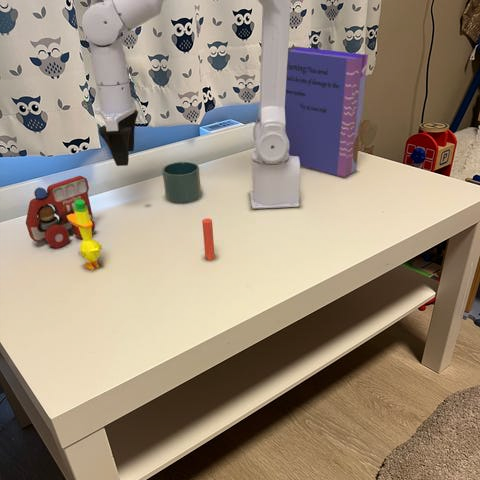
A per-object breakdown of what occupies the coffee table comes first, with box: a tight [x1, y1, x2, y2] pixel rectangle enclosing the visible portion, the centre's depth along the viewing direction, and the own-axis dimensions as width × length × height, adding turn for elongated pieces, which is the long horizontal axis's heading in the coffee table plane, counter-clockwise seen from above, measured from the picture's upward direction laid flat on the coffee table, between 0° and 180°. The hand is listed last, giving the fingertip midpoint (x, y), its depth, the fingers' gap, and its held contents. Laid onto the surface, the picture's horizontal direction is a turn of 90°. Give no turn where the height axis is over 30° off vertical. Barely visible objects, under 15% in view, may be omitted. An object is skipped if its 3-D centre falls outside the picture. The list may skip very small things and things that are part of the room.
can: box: [162, 161, 202, 205], centre depth 108 cm, size 7×7×6 cm
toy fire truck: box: [25, 175, 96, 249], centre depth 94 cm, size 7×12×10 cm, turn 130°
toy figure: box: [67, 199, 103, 271], centre depth 85 cm, size 7×4×12 cm, turn 49°
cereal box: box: [285, 46, 369, 179], centre depth 114 cm, size 17×5×24 cm, turn 49°
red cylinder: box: [201, 218, 216, 261], centre depth 87 cm, size 2×2×7 cm
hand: (125, 157), depth 101 cm, fingers open, 7 cm apart
